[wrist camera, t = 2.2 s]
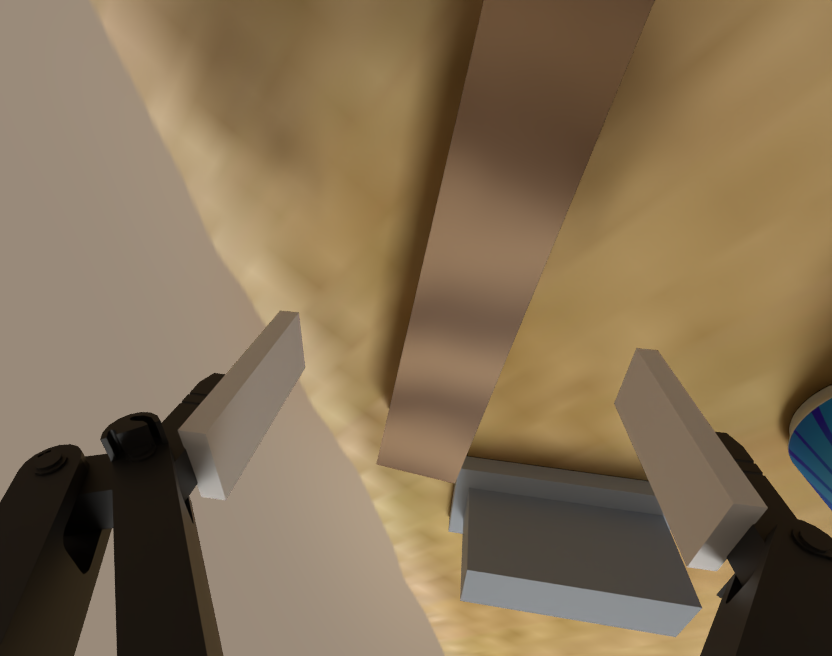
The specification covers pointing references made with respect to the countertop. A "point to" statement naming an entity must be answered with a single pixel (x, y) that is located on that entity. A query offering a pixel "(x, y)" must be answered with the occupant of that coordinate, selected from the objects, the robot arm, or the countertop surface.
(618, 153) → the countertop surface
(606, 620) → the fulcrum block
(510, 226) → the walnut bar
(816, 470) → the beer can
